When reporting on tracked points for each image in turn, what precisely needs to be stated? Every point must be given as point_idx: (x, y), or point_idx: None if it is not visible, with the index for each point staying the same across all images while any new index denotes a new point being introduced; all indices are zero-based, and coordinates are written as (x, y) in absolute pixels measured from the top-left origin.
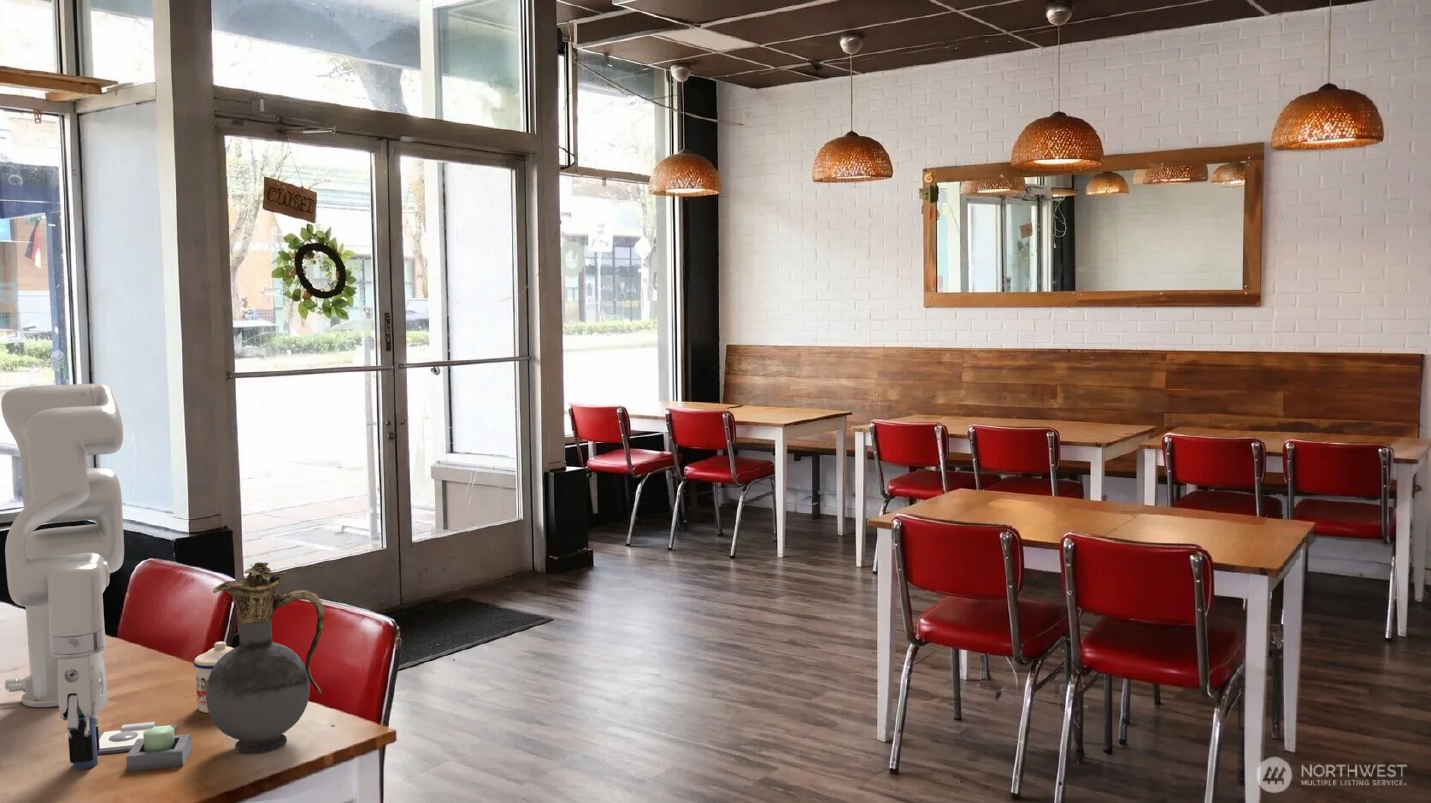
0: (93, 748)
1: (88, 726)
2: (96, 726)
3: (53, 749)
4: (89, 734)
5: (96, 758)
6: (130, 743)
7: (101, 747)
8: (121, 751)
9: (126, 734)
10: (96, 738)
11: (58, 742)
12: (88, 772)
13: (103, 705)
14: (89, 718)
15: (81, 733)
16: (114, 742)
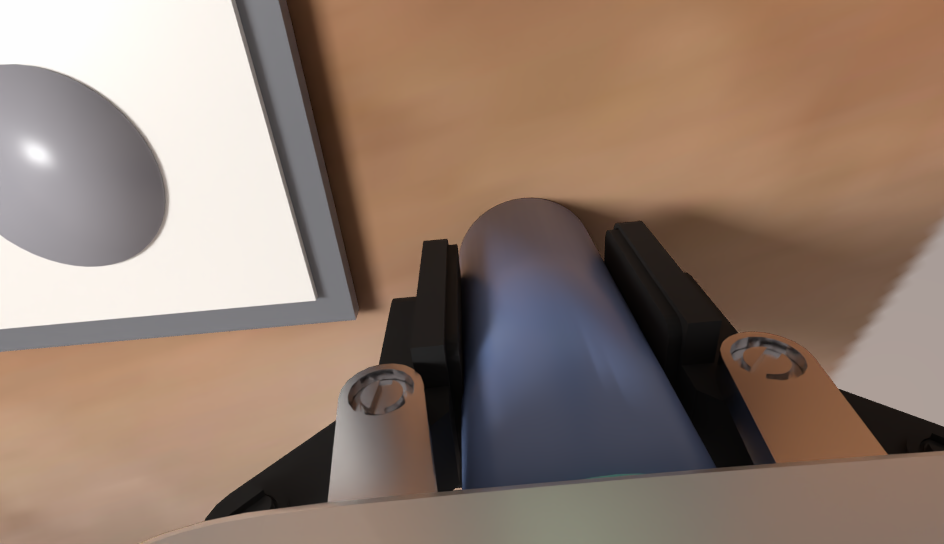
0: (588, 258)
1: (797, 411)
2: (418, 361)
3: (243, 473)
4: (645, 350)
5: (540, 214)
6: (201, 67)
7: (286, 256)
8: (310, 107)
9: (5, 167)
10: (455, 294)
11: (143, 483)
12: (658, 206)
13: (511, 508)
14: None
15: (876, 410)
16: (184, 202)
